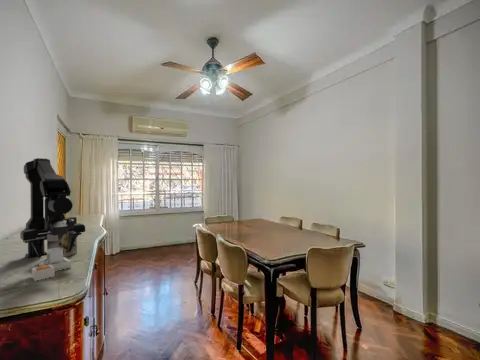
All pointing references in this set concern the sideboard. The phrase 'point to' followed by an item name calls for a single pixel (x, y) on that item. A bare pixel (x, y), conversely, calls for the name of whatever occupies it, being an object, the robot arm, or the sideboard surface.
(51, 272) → the button housing
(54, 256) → the billet
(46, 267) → the button
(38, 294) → the sideboard surface
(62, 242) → the coffee box
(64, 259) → the white square tray
